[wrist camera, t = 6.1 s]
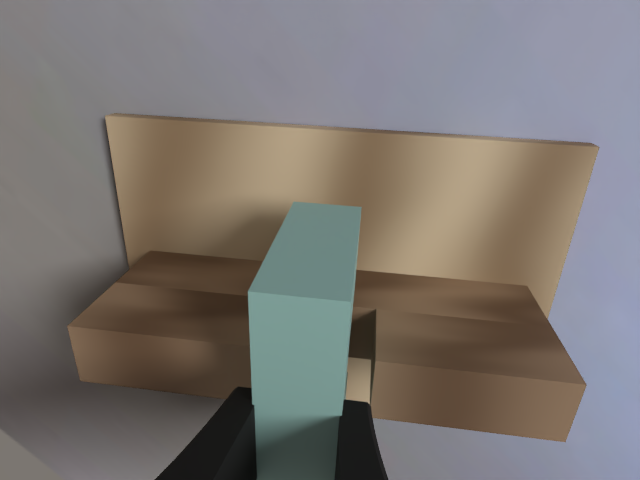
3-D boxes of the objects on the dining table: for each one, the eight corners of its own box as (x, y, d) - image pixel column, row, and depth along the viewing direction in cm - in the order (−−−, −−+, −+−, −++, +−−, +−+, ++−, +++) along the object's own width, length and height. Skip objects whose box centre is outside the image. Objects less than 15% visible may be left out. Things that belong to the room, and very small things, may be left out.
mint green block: (361, 207, 13) (351, 301, 8) (342, 428, 17) (329, 574, 12) (293, 201, 13) (247, 291, 9) (291, 422, 17) (258, 563, 12)
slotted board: (590, 143, 14) (709, 200, 9) (509, 422, 19) (555, 560, 14) (114, 113, 16) (-14, 147, 11) (154, 378, 21) (79, 488, 16)
